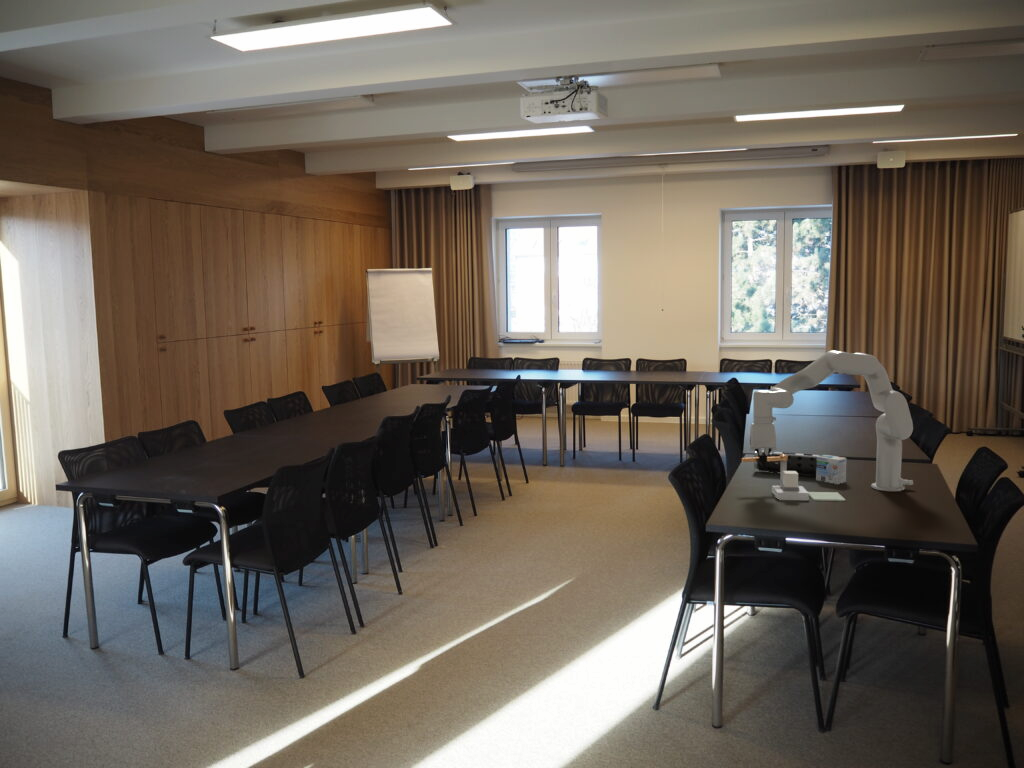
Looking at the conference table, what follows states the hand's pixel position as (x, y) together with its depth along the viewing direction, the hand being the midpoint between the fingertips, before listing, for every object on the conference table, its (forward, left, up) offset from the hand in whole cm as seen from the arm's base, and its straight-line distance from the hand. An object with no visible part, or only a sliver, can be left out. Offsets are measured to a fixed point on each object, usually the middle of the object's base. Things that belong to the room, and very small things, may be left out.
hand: (763, 464), depth 352 cm
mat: (-23, +9, -11) cm, 27 cm away
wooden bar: (-1, -3, +1) cm, 3 cm away
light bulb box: (-32, -20, -12) cm, 39 cm away
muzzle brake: (-16, -33, -12) cm, 38 cm away
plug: (-9, +9, -11) cm, 17 cm away
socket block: (-9, +4, -11) cm, 15 cm away
